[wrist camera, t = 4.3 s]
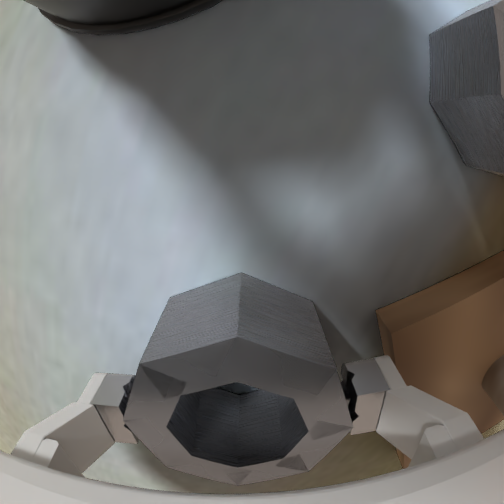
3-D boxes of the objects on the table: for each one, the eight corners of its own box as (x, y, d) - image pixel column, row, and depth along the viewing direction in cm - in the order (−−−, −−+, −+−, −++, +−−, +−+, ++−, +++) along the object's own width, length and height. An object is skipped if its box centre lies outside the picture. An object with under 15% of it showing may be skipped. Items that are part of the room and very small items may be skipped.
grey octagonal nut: (201, 424, 12) (192, 490, 9) (126, 312, 10) (86, 375, 7) (339, 387, 12) (361, 455, 8) (295, 252, 10) (318, 309, 6)
